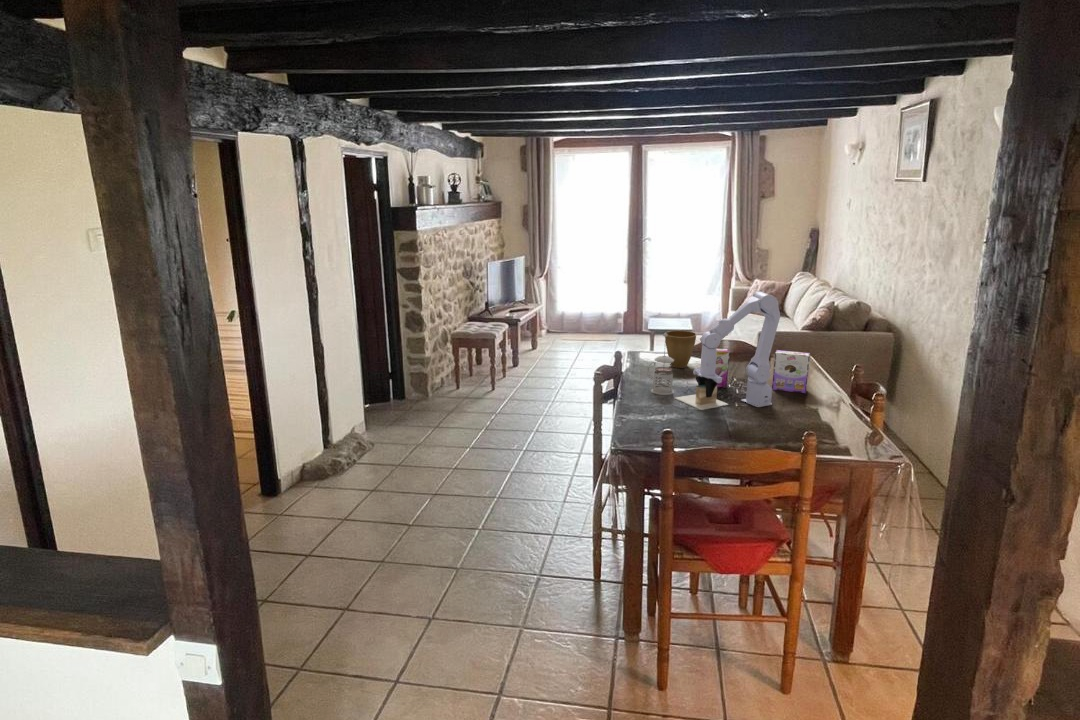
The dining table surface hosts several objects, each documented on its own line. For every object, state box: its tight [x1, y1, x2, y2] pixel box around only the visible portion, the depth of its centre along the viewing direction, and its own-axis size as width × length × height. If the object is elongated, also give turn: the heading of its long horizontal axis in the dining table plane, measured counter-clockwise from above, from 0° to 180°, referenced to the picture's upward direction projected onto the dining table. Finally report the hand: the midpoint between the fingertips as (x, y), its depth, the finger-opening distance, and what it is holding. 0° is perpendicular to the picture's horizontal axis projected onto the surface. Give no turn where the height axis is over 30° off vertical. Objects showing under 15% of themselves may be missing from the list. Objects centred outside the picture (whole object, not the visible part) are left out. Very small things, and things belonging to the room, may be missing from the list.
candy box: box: [771, 349, 811, 394], centre depth 284 cm, size 14×6×16 cm, turn 65°
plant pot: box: [664, 330, 697, 369], centre depth 321 cm, size 15×15×16 cm
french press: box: [646, 332, 675, 396], centre depth 280 cm, size 10×12×25 cm
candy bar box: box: [715, 348, 731, 388], centre depth 288 cm, size 11×5×16 cm, turn 84°
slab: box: [695, 385, 718, 405], centre depth 266 cm, size 3×8×7 cm, turn 117°
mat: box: [674, 393, 729, 411], centre depth 269 cm, size 16×14×1 cm
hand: (705, 395), depth 266 cm, fingers closed on slab, 3 cm apart
